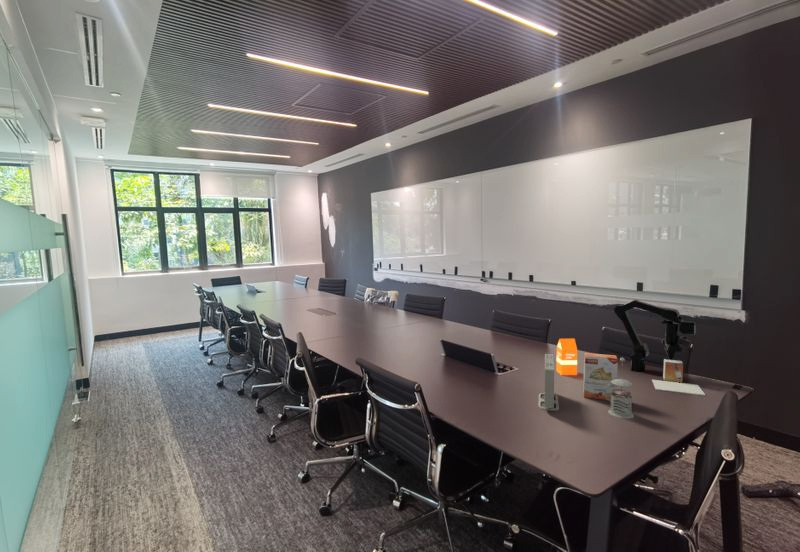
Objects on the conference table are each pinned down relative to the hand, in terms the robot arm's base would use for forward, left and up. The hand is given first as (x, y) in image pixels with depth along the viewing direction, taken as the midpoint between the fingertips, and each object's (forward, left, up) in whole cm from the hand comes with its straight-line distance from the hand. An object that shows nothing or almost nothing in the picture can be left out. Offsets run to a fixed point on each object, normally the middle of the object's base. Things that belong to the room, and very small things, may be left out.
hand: (670, 360), depth 214 cm
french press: (-29, -63, -9) cm, 70 cm away
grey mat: (0, -19, -9) cm, 21 cm away
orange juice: (-52, -15, -9) cm, 55 cm away
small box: (0, -7, -9) cm, 12 cm away
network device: (-58, -62, -9) cm, 85 cm away
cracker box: (-36, -47, -9) cm, 60 cm away
